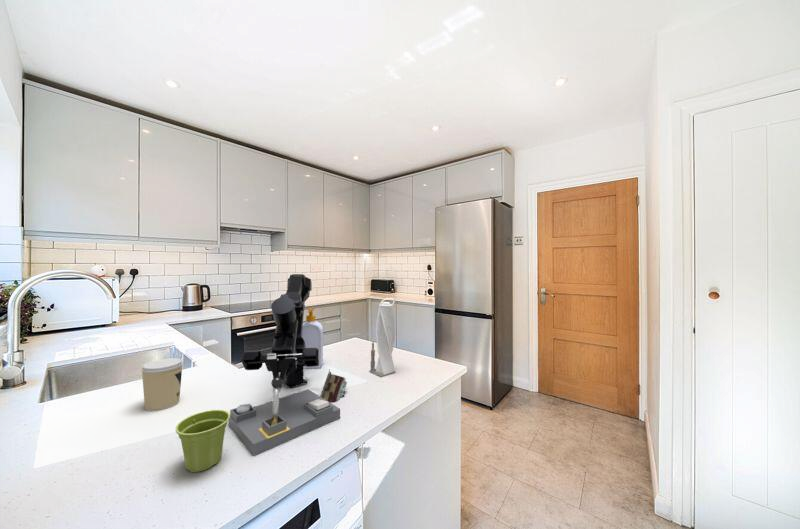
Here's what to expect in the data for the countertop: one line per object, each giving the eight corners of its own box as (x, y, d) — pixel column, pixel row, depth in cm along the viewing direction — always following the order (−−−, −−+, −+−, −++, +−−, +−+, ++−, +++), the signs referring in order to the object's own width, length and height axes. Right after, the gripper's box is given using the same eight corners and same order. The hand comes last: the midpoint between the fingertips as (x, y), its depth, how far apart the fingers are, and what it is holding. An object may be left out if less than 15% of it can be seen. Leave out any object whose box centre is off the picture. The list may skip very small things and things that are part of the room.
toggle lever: (269, 424, 70) (272, 376, 73) (281, 423, 71) (284, 376, 74) (267, 426, 68) (270, 377, 71) (279, 425, 68) (282, 376, 71)
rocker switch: (308, 406, 79) (307, 402, 79) (318, 402, 81) (318, 398, 82) (317, 410, 76) (317, 405, 76) (328, 405, 78) (328, 401, 78)
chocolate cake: (340, 408, 86) (352, 369, 95) (317, 401, 86) (330, 362, 94) (337, 417, 93) (348, 380, 101) (315, 411, 93) (328, 374, 101)
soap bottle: (296, 370, 114) (297, 310, 114) (299, 363, 121) (300, 307, 121) (321, 369, 115) (321, 309, 115) (322, 362, 122) (323, 307, 122)
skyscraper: (386, 366, 119) (387, 296, 118) (400, 372, 113) (400, 298, 112) (369, 371, 113) (370, 298, 113) (382, 378, 107) (383, 300, 107)
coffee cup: (186, 404, 86) (186, 362, 86) (143, 416, 79) (143, 371, 79) (178, 394, 92) (179, 355, 92) (139, 404, 86) (139, 362, 85)
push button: (234, 411, 75) (234, 407, 75) (247, 407, 77) (247, 403, 77) (238, 416, 73) (238, 411, 73) (251, 411, 75) (251, 407, 75)
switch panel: (228, 424, 76) (228, 407, 76) (308, 397, 91) (308, 382, 91) (253, 456, 64) (253, 435, 64) (340, 418, 79) (340, 401, 79)
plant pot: (168, 485, 55) (168, 438, 55) (182, 454, 64) (182, 414, 64) (226, 471, 59) (226, 427, 59) (232, 444, 68) (232, 406, 68)
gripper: (320, 348, 91) (318, 400, 80) (255, 351, 87) (243, 406, 77) (319, 328, 84) (316, 382, 73) (247, 330, 80) (232, 388, 69)
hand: (277, 390), depth 73 cm, fingers closed
